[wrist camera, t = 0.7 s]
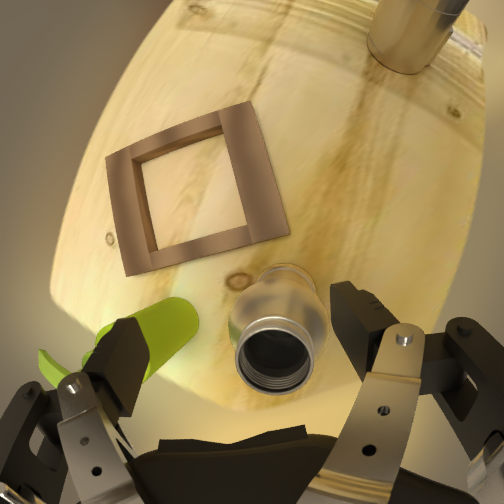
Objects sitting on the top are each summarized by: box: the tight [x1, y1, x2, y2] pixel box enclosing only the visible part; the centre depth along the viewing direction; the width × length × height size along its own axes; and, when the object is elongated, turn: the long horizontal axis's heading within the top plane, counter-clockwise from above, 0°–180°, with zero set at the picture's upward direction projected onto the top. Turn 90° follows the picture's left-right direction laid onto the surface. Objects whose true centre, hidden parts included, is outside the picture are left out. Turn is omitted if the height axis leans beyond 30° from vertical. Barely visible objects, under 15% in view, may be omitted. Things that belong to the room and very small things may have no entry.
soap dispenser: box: [39, 297, 199, 388], centre depth 24 cm, size 6×7×20 cm
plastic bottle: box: [228, 263, 330, 395], centre depth 22 cm, size 6×7×20 cm
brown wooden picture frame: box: [105, 101, 289, 277], centre depth 32 cm, size 20×16×2 cm
